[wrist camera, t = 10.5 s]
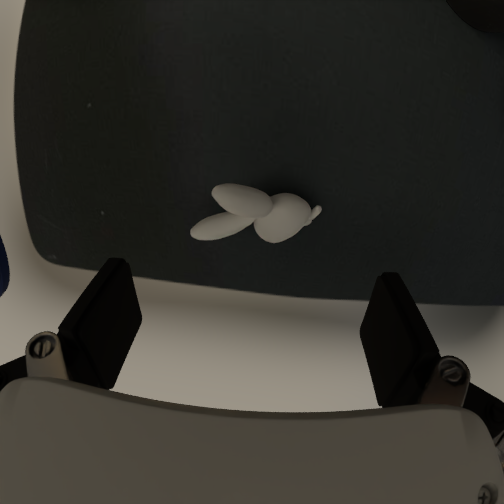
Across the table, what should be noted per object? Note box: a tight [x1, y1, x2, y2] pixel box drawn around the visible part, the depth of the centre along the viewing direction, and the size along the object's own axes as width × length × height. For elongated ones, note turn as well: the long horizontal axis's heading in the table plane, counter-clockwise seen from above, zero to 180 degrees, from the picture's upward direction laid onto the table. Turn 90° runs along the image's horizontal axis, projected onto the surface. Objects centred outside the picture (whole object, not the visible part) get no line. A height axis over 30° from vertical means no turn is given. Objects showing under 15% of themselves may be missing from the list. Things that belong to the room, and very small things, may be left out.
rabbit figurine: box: [190, 183, 321, 243], centre depth 18 cm, size 6×4×8 cm
